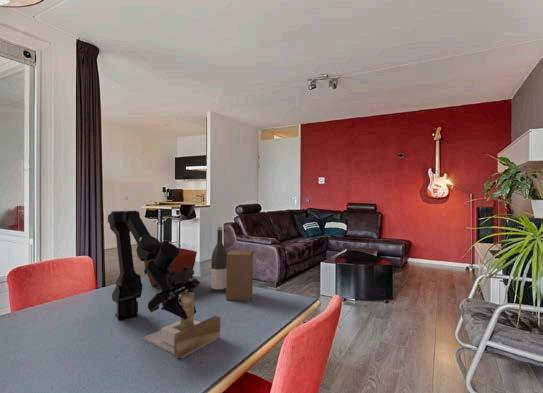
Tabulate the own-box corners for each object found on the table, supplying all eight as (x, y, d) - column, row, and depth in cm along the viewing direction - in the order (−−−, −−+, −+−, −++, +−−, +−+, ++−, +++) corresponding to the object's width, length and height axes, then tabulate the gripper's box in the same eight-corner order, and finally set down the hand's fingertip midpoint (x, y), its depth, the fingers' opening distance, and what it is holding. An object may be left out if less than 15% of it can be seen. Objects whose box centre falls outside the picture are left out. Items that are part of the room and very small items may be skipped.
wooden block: (252, 293, 139) (253, 250, 139) (248, 301, 129) (249, 254, 129) (231, 292, 140) (231, 249, 140) (225, 300, 130) (226, 254, 130)
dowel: (182, 340, 91) (183, 297, 91) (178, 335, 94) (179, 293, 94) (195, 337, 93) (196, 295, 93) (190, 332, 96) (191, 291, 96)
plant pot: (175, 277, 164) (175, 246, 163) (197, 285, 151) (197, 251, 151) (141, 285, 149) (141, 251, 149) (162, 294, 137) (162, 257, 137)
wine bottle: (224, 293, 139) (225, 228, 139) (207, 291, 141) (208, 227, 141) (230, 287, 147) (230, 226, 147) (214, 286, 149) (215, 225, 149)
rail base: (140, 340, 94) (140, 319, 94) (181, 322, 107) (182, 304, 107) (178, 359, 84) (179, 336, 83) (219, 337, 97) (220, 317, 97)
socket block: (161, 340, 93) (161, 328, 93) (187, 328, 101) (187, 317, 101) (182, 350, 87) (182, 337, 87) (208, 337, 95) (208, 325, 95)
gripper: (155, 266, 86) (187, 311, 82) (195, 254, 103) (223, 290, 100) (134, 290, 89) (164, 334, 85) (176, 274, 106) (202, 311, 103)
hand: (191, 315), depth 93 cm, fingers closed on dowel, 4 cm apart
